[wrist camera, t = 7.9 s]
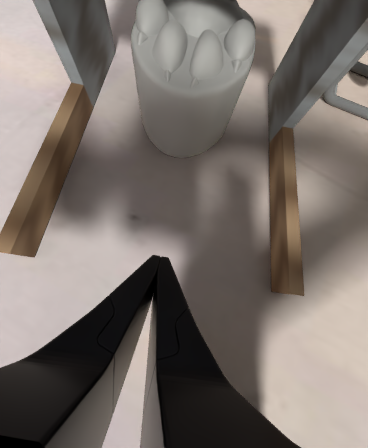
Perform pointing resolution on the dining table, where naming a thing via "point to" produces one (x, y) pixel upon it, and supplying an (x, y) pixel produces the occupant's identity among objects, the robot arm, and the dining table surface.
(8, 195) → the dining table surface
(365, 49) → the newton's cradle
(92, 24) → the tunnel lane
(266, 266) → the dining table surface
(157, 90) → the grey animal paw
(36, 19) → the dining table surface
